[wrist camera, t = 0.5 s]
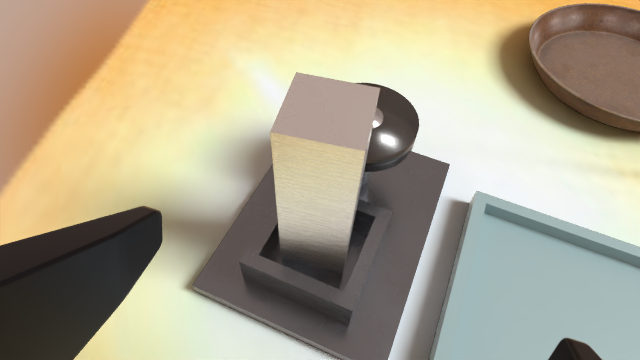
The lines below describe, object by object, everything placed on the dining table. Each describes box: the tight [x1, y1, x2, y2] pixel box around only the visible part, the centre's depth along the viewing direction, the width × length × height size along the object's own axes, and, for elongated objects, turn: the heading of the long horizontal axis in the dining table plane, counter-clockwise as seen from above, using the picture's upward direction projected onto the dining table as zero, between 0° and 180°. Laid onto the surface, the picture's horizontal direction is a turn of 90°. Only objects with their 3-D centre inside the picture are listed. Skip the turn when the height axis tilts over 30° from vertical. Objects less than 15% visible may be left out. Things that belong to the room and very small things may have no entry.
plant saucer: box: [529, 3, 640, 132], centre depth 38 cm, size 18×18×3 cm
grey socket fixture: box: [192, 83, 450, 360], centre depth 26 cm, size 16×12×7 cm
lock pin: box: [270, 72, 380, 288], centre depth 21 cm, size 4×4×12 cm
